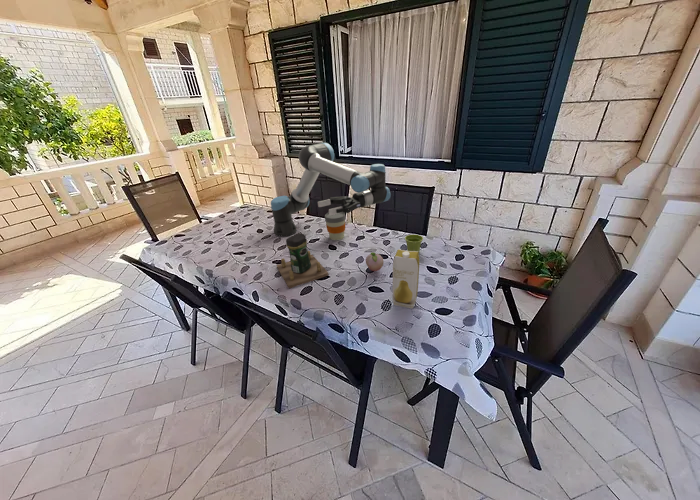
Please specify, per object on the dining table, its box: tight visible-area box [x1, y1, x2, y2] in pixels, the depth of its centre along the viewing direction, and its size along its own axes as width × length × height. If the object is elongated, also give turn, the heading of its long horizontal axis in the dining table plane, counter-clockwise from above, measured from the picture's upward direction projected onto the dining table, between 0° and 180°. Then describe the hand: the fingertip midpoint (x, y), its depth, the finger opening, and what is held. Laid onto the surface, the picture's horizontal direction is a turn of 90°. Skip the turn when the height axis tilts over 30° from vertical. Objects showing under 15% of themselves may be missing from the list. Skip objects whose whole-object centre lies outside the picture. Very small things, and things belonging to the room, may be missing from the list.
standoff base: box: [276, 250, 330, 289], centre depth 135 cm, size 22×20×6 cm
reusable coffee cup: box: [324, 212, 347, 241], centre depth 166 cm, size 12×13×15 cm
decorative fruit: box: [365, 251, 385, 272], centre depth 130 cm, size 9×8×10 cm
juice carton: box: [392, 249, 420, 309], centre depth 105 cm, size 9×8×24 cm
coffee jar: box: [285, 232, 311, 273], centre depth 131 cm, size 10×8×19 cm
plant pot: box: [404, 233, 424, 254], centre depth 144 cm, size 9×9×9 cm
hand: (323, 208), depth 129 cm, fingers open, 13 cm apart
